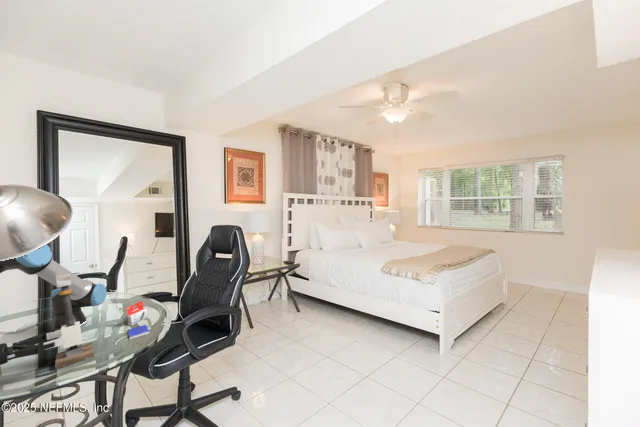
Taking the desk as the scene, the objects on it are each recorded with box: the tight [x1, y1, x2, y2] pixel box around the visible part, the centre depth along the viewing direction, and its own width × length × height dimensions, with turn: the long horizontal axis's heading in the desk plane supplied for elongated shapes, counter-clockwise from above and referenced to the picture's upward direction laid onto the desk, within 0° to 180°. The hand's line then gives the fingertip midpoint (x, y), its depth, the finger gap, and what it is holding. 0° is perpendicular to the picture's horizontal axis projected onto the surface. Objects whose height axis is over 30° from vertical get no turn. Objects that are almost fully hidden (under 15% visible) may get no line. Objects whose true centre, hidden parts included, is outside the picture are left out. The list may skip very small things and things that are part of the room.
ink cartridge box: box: [125, 300, 149, 326], centre depth 162 cm, size 2×11×10 cm, turn 168°
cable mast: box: [54, 271, 95, 370], centre depth 125 cm, size 14×12×36 cm
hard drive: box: [127, 324, 150, 340], centre depth 146 cm, size 2×8×12 cm
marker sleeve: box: [61, 321, 83, 350], centre depth 125 cm, size 6×6×8 cm
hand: (66, 335), depth 123 cm, fingers open, 13 cm apart
